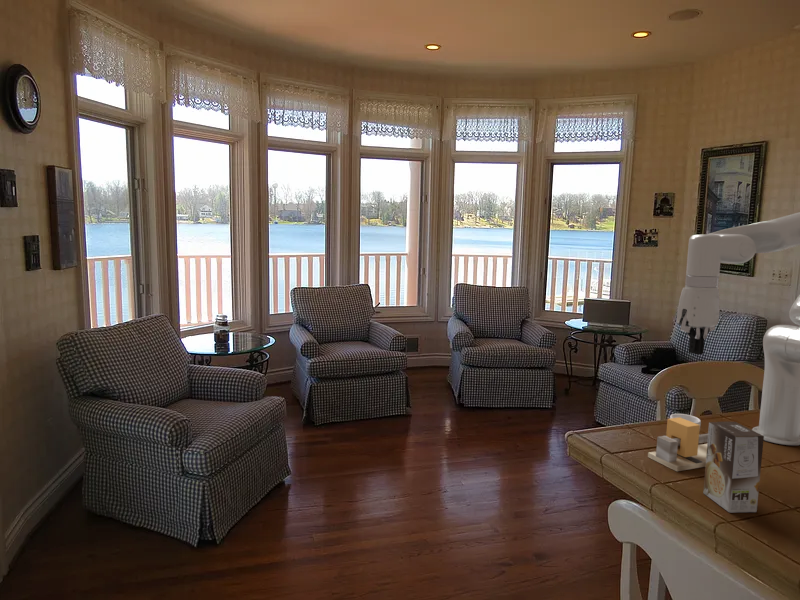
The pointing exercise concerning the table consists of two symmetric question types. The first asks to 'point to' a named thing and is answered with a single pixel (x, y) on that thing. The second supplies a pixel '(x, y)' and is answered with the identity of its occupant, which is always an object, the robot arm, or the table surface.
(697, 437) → the collar
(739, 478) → the coffee box
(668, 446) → the pipe stand
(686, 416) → the teacup
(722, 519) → the table surface
